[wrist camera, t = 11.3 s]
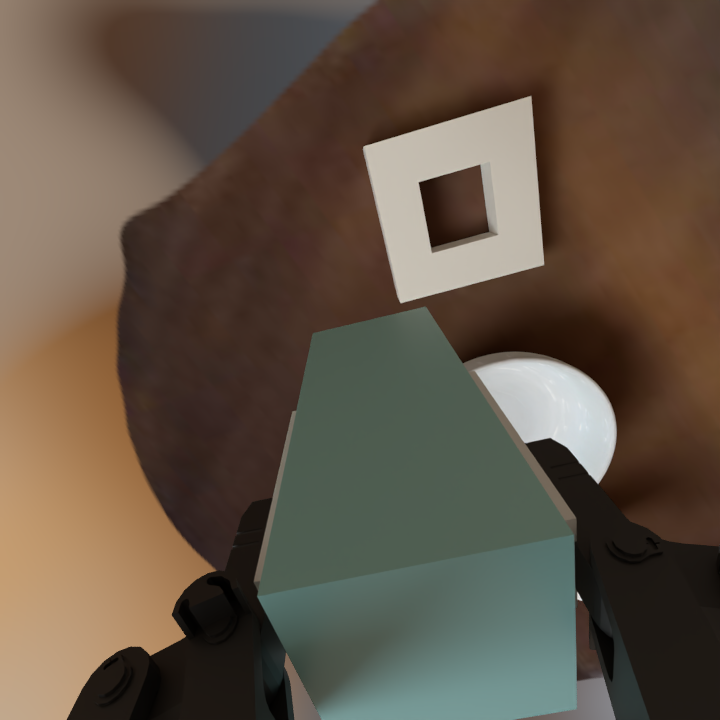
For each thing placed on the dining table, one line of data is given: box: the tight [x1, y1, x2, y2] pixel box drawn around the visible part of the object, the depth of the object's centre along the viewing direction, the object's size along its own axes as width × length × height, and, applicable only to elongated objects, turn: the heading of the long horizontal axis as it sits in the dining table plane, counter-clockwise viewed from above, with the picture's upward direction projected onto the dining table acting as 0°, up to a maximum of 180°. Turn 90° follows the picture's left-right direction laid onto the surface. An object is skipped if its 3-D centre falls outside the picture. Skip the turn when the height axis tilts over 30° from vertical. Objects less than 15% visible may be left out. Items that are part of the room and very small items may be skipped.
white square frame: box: [363, 96, 544, 303], centre depth 34 cm, size 13×13×2 cm
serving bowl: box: [463, 352, 617, 484], centre depth 41 cm, size 21×21×7 cm
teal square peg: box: [257, 307, 577, 720], centre depth 13 cm, size 5×5×12 cm
